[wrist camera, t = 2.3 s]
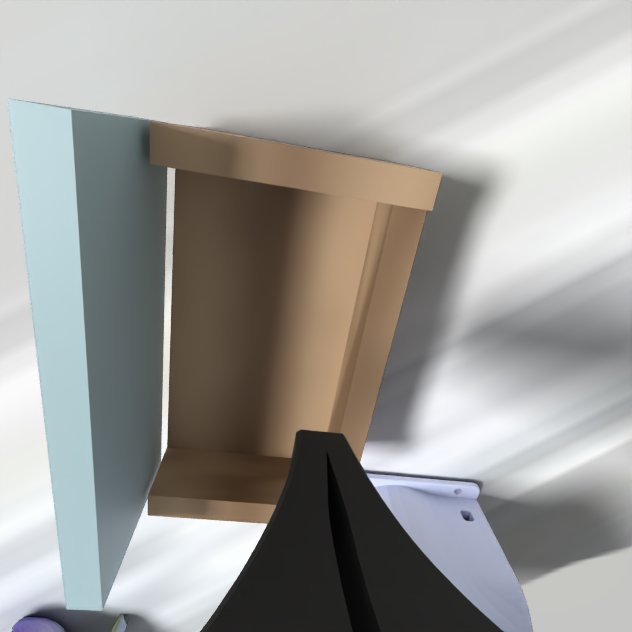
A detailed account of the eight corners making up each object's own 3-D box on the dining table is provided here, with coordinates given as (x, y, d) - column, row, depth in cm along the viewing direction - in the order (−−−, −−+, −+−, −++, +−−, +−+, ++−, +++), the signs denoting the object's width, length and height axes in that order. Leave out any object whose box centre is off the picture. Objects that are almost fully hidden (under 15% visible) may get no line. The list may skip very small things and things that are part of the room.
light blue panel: (167, 123, 15) (70, 109, 8) (160, 465, 21) (102, 610, 14) (133, 116, 14) (6, 98, 8) (136, 462, 21) (66, 609, 14)
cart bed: (397, 163, 18) (442, 173, 13) (333, 441, 25) (346, 529, 19) (194, 126, 17) (149, 121, 12) (181, 427, 24) (147, 515, 18)
